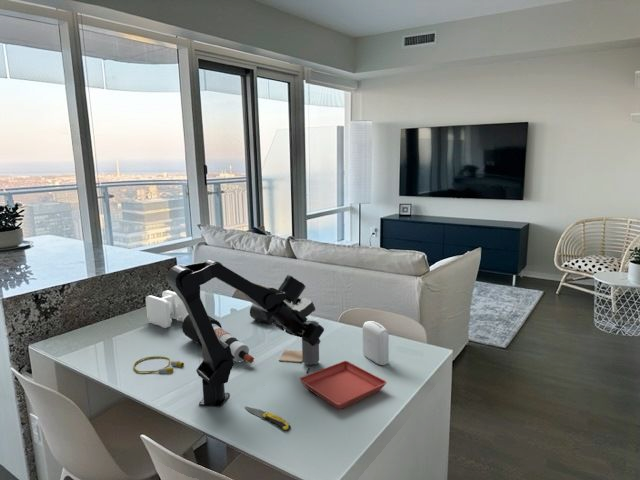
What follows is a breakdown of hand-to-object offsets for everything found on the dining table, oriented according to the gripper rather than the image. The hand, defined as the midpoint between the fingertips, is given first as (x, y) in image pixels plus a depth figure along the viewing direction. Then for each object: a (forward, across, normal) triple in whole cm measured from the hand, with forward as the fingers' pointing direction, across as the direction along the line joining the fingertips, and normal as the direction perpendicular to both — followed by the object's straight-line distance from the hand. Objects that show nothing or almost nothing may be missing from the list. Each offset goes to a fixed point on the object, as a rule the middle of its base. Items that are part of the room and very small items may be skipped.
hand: (314, 340), depth 140 cm
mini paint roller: (+3, -2, +8) cm, 9 cm away
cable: (-8, +27, +19) cm, 34 cm away
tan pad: (+3, +8, +7) cm, 11 cm away
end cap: (+11, +42, 0) cm, 43 cm away
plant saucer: (+3, -18, +9) cm, 21 cm away
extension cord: (-22, +31, +34) cm, 51 cm away
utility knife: (-14, -16, +26) cm, 34 cm away
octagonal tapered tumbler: (+4, 0, +6) cm, 7 cm away
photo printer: (+17, -11, -6) cm, 21 cm away
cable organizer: (-10, +67, +22) cm, 72 cm away
